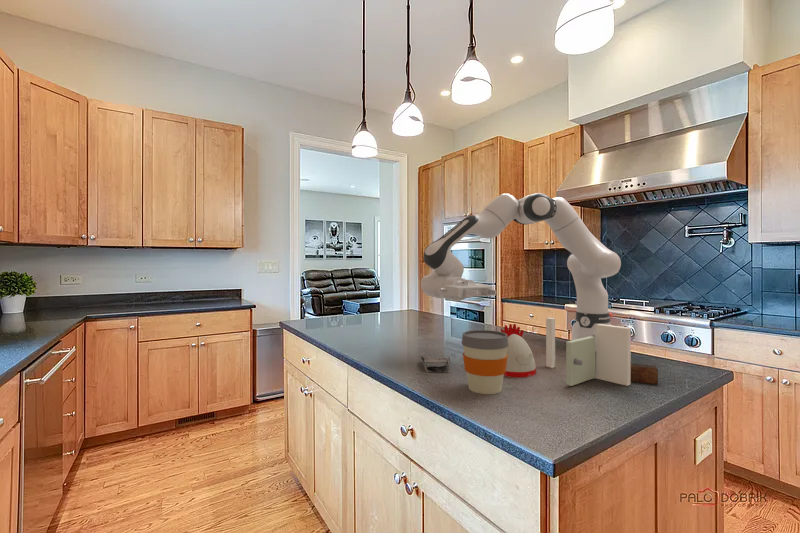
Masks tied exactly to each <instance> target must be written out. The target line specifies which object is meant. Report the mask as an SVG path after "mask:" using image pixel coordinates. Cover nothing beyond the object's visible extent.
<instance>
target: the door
mask: <svg viewBox="0 0 800 533" xmlns="http://www.w3.org/2000/svg"><path fill="white" fill-rule="evenodd" d="M593 378H595V379H596V351H595V337H592V336H589V337H585V338H580V339H576V340H572V339H571V340H568V341H565V385H567V386H569V387H572V386H575V385H576V386H577V385H579V384H581V383H584V382H586V381H587V382H588V381H590V380H593Z"/></svg>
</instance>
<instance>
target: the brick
mask: <svg viewBox="0 0 800 533" xmlns="http://www.w3.org/2000/svg"><path fill="white" fill-rule="evenodd" d="M632 382H633V383H639V384H640V383H641V384H646V385H648V384H649V385H658V383H659V369H658V368H657V365H652V364H642V363H641V364H640V363H631V383H632Z"/></svg>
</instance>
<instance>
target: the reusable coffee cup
mask: <svg viewBox="0 0 800 533" xmlns="http://www.w3.org/2000/svg"><path fill="white" fill-rule="evenodd" d="M461 345H462V346H463V347H462V348H463V352H462V358H463V359H462V360H463V364H464V367H463V368H464V371H465V372H466V378H467V385H468V386H467V387H468V390H470V391H471V392H473V393H476V394H482V395H494V394H499V393H501V392H502V391H503V382H504V377H505V376H504V373H505V372H506V365H507V357H508V356H507V355H506V352H507V347H508V346H509V344H508V335H507V334H506V333H503V332H501V331H497V330H489V329H473V330H468V331H464V332H463V333H462V336H461Z"/></svg>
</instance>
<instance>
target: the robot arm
mask: <svg viewBox="0 0 800 533" xmlns="http://www.w3.org/2000/svg"><path fill="white" fill-rule="evenodd" d="M513 221H514V222H515V223H517V224H520V225H526V226H527V225H532V224H534V225H535V224H537V223H538V222H545V223H546V224H547V226H549V228H550V229H551V231H552V233H553V234H554V236H555V237H556V238H557V240H558V242H559V243H560V244H561V245H562V247H563V248H564V249H565V250H567V251H568V252H570V255H569V256H568V257H567V262H566V265H567V269H568V270H569V271H570V273H571V275H572V279H573V281H574V282H573V283H574V287H575V291H576V311H575V314H574V315H575V322H574V323H573V324H572V330H571V340H576V339H580V338H585V337H589V336H592V335H593V334H594V335H595V352H596V325H597V324H604V325H612V324H611V318H613V314H612V312H609V294H608V291H607V290H606V289H605V287H604V285H603V282H602V279H606V278H609V277H614V275H616V274H618V272H619V271H620V269H621V266H622V261H621V257H620V256H619V255H618V253H616V252H614V251H613V250H611V249H609V248H608V247H607V246H605V245H604V244H603V243H602V242H601V241H600V240H599V239H598V238H597V237H595V235H594V234H593V233H591V231H590V230H589V229H588V227H587V226H586V225H585V223H584V221H583V220H582V218H581V216H580V215H579V214H578V213H577V211H576V210H575V209H574V208H573V206H572V205H571V204H570V203H569V202H568V201H567V200H566V199H565V198H564V197H561V196H557V197H553V198H552V197H550V196H548V195H546V194H545V193H541V192H536V193H532V194H528V195H526V196H523V197H522V198H520V199H518V198H516V197H515V196H514V195H512V194H510V193H501V194H500V195H498V196H497V197H495V198H494V199H492V201H491V202H489V204H488V205H486V206H485V207H484V208H483V210H481V211H480V212H479V213H478V214H475V215H473V214H471V215H468V216H466V217H465V218H463V219H462V220H460V221H459V222H458V223H457V224H455V225H454V226H452V227H451V229H449V230H448V231H447V232H445V233H444V234H443V235H442V236H441V237H439V238H437V239H436V240H434V241H433V242H432V243H430V244H428V245H427V246H426V247H425V249H424V251H423V262H424V264H425V265H427V266H428V267H429V268H430V269H432V270H433V271H432V272H431V273H429V274H427V275H424V276H423V277H422V278H421V279H420V288H421V290H422V292H423V294H425V295H426V296H428V297H431V298H435V299H444V300H448V301H452V302H461V301H463V300H466V299H470V298H474V297H475V298H476V297H491V296H496V295H497V290H496V289H493V286H492V285H488V284H485V283H480V282H475V281H474V280H471V279H466V278H463V277H462V276H463V273H464V272H465V271H464V270H465V268H464V265H463V263H462V262H461V261H460V260H459V258H458V257H457V256H456V255H454V253H453V251H451V249H452V248H453V247H454V245H456V244H457V243H458V242H460V240H462V239H463V238H465V237H466V236H469V235H474V236H478V237H479V238H482V239H487V240H489V239H495V238H496V237H498V236H499V235H500V234H501V233H502V232H503V231H504V230H505V229H506V228H507V226H509V224H510V223H511V222H513Z"/></svg>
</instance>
